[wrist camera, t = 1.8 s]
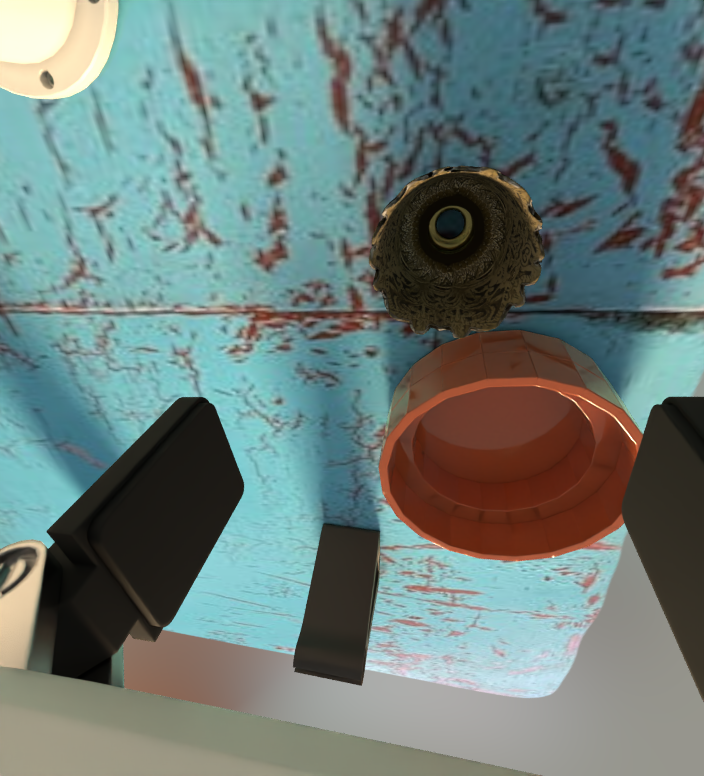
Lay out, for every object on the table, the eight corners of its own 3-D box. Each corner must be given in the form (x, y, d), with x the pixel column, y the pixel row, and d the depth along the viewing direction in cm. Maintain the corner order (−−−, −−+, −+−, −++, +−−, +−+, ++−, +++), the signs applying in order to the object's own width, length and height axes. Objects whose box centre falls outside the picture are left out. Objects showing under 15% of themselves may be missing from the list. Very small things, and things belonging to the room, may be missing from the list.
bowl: (379, 333, 29) (364, 381, 23) (635, 318, 25) (687, 372, 20) (398, 490, 37) (391, 552, 32) (591, 498, 33) (619, 569, 28)
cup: (534, 158, 21) (575, 175, 15) (497, 290, 26) (516, 349, 19) (396, 147, 22) (376, 158, 16) (382, 276, 26) (362, 328, 20)
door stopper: (379, 579, 46) (362, 704, 36) (328, 571, 47) (298, 690, 37) (380, 530, 41) (361, 659, 31) (323, 521, 42) (287, 644, 32)
